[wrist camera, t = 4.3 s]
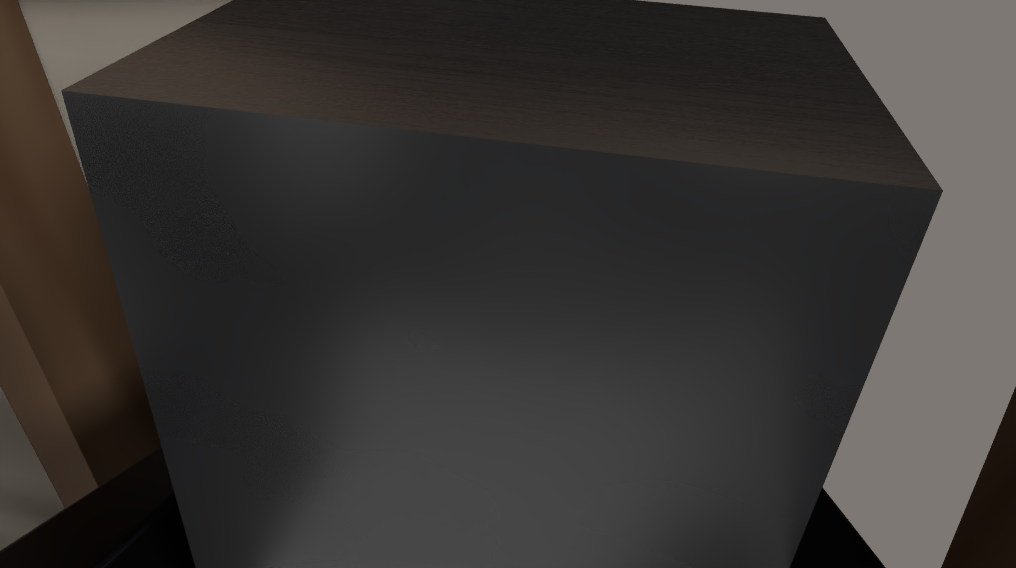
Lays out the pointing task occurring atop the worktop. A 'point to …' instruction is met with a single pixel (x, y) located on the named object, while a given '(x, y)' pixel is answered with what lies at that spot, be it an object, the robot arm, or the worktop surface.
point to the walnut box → (107, 342)
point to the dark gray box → (499, 275)
